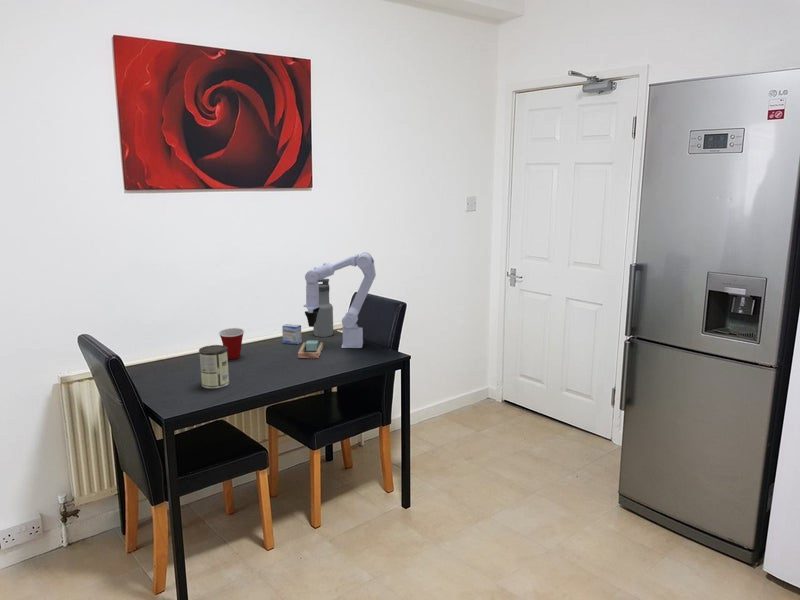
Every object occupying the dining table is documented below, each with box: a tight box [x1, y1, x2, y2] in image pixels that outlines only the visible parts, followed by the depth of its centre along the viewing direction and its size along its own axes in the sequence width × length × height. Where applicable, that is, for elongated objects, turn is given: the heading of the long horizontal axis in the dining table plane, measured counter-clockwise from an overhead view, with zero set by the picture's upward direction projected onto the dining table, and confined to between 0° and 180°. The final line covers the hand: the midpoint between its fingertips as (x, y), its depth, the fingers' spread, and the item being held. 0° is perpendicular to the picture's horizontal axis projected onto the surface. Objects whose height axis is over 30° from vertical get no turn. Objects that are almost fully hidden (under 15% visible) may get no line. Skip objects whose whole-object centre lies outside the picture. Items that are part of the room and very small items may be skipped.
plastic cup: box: [218, 327, 245, 360], centre depth 271 cm, size 11×11×12 cm
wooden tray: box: [297, 341, 324, 360], centre depth 280 cm, size 9×18×2 cm, turn 1°
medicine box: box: [281, 323, 303, 345], centre depth 296 cm, size 8×4×9 cm, turn 73°
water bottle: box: [312, 278, 334, 338], centre depth 308 cm, size 10×10×28 cm
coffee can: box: [198, 344, 230, 389], centre depth 237 cm, size 10×10×14 cm
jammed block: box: [305, 339, 319, 352], centre depth 284 cm, size 5×5×4 cm
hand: (312, 324), depth 290 cm, fingers open, 7 cm apart
